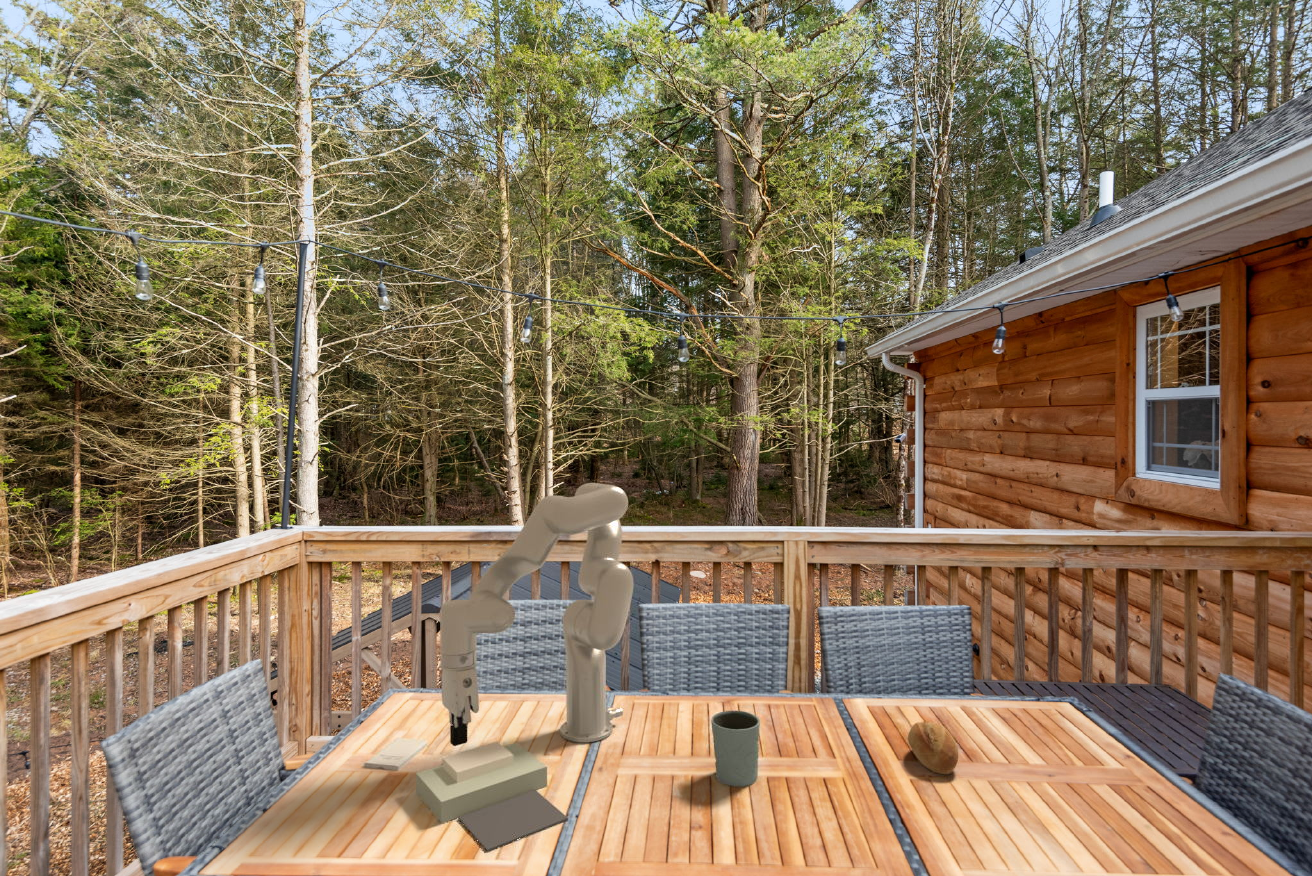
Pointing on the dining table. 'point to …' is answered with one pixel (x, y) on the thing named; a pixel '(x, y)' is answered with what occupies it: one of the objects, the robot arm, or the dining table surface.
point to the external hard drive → (396, 754)
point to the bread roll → (934, 747)
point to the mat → (512, 820)
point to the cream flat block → (477, 761)
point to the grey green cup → (736, 747)
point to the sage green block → (480, 786)
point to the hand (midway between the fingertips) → (458, 743)
